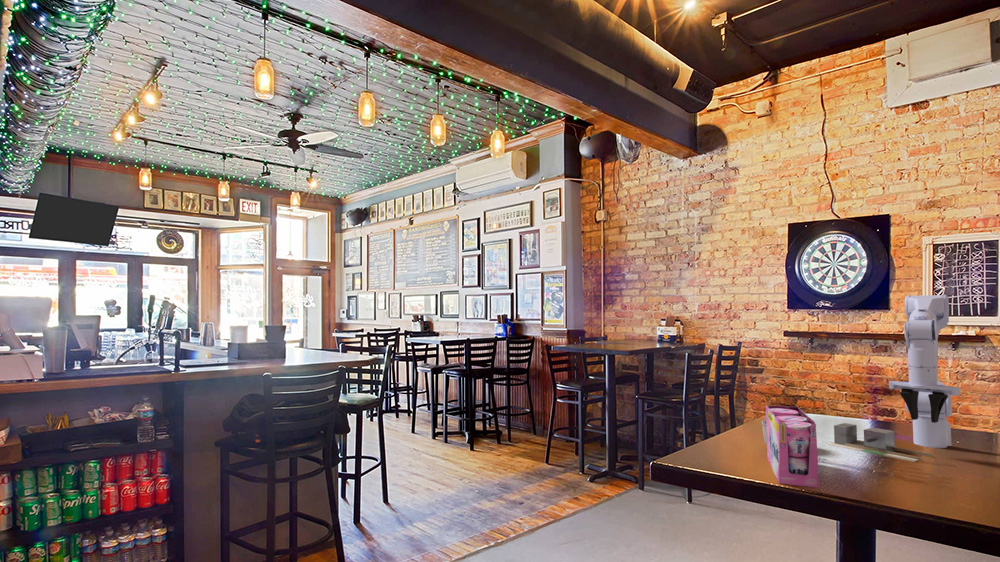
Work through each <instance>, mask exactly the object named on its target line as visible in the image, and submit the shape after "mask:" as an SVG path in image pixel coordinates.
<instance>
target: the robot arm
mask: <svg viewBox="0 0 1000 562" xmlns="http://www.w3.org/2000/svg"><path fill="white" fill-rule="evenodd" d="M904 309H905V311H904V313H905V316H906V321H905V322H904V325H903V326H904V327H903V328H904V329H903V331H904V332H903V333H904V339H905V342H906V343H905V344H906V349H907V364H908V366H907V367H908V381H897V380H889V381H888V387H889V388H888V389H890V390H901V391H900V392H899V395H900V397H901V398H902V399H903V400H904V403H905V410H906V412H907V413H909V415H910V420H912V432H913V433H912V437H913V444H914V445H917V446H921V447H926V448H934V449H946V448H948V446H949V447H952V429H951V428H952V427H951V423H950V422H949V420H948V419H947V418H948V417H952V416H953V402H952V396H957V397H958V396H959V397H960V396H961V387H960V386H950V385H946V384H944V383H943V382H941V381H939V359H938V358H939V357H938V355H939V353H938V352H939V351H938V350H939V349H938V344H939V342H938V338H939V334H940V331H941V329H944V328H946V327H948V325H949V322H950V321H949V320H950V319H949V318H950V317H949V316H950V303H949V296H948V295H946V294H943V295H942V294H941V295H940V294H937V295H936V294H935V295H933V294H932V295H931V294H927V295H925V294H923V295H910V294H907V295H906V296H905V298H904Z"/></svg>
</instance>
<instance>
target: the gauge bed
mask: <svg viewBox="0 0 1000 562" xmlns="http://www.w3.org/2000/svg"><path fill="white" fill-rule="evenodd" d="M857 429H858V428H857V424H852V423H846V422H843V423H840V424H839V423H838V424H835V425H833V435H834V437H833V438H834V441H833V442H828V443H826V444H827V445H828V446H832V447H836V448H837V447H838V448H843V449H848V450H853V451H857V452H862V453H867V454H871V455H877V456H881V457H887V458H893V459H896V460H902V461H906V462H907V461H908V462H913V463H915V462H922V461H923V459H922V457H919V456H924V457H928V458H933V453H929V452H925V451H918V450H913V449H908V448H903V447H898V446H895V451H897V452H895V451H891V452H890V451H885V450H880V449H874V448H869V447H864V440H858V430H857ZM858 444H860V445H858ZM900 452H902V453H900ZM906 453H907V454H906ZM909 454H911V455H909ZM912 454H913V455H912ZM917 455H918V456H917Z"/></svg>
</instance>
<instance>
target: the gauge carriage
mask: <svg viewBox="0 0 1000 562" xmlns="http://www.w3.org/2000/svg"><path fill="white" fill-rule="evenodd" d="M863 441H864V444H863V446H864V447H869V448H874V449H880V450H885V451H890V452H895V451H896V450H895V447H896V446H895V445H896V444H895V431H894V430H890V429H882V428H878V427H870V428H865V429H863Z"/></svg>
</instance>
